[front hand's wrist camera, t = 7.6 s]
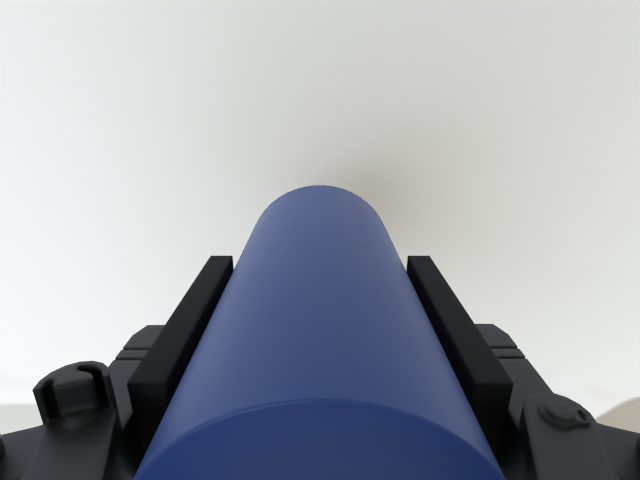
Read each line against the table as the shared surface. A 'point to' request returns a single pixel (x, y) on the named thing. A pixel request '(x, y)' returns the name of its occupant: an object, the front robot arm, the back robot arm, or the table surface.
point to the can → (319, 364)
